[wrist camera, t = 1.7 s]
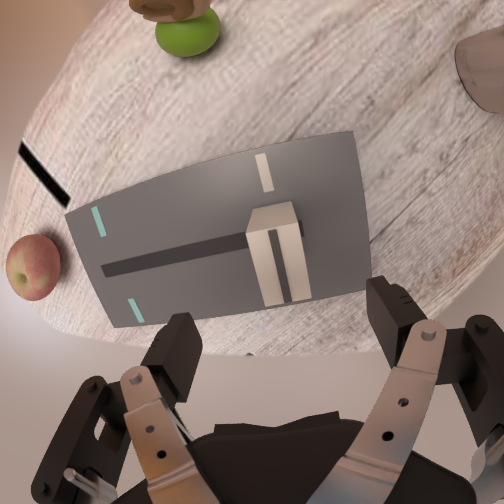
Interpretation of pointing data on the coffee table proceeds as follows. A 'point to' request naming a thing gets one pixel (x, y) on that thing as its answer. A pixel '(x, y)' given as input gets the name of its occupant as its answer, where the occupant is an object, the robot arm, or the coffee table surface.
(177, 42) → the snail figurine
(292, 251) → the fader
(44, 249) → the apple
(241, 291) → the fader console
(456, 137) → the coffee table surface
